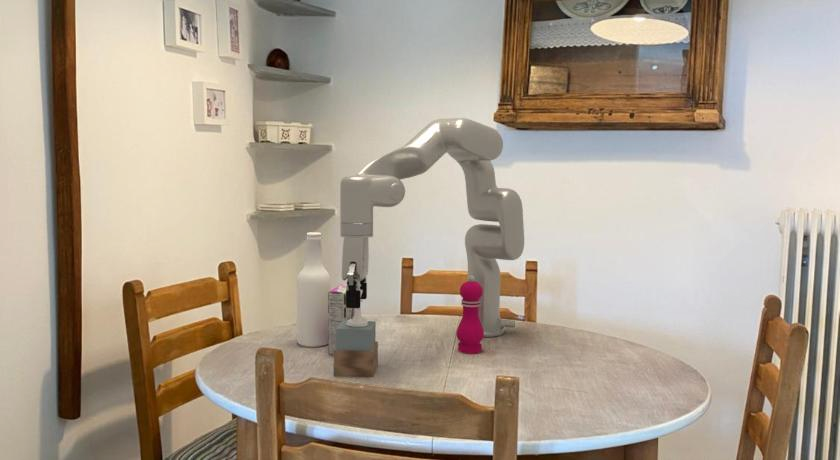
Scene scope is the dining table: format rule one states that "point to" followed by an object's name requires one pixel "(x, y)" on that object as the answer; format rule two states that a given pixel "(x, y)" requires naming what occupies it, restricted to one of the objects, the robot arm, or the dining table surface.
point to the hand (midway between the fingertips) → (356, 303)
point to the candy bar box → (337, 313)
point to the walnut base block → (356, 362)
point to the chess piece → (357, 316)
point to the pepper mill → (470, 318)
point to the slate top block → (355, 337)
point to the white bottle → (313, 296)
